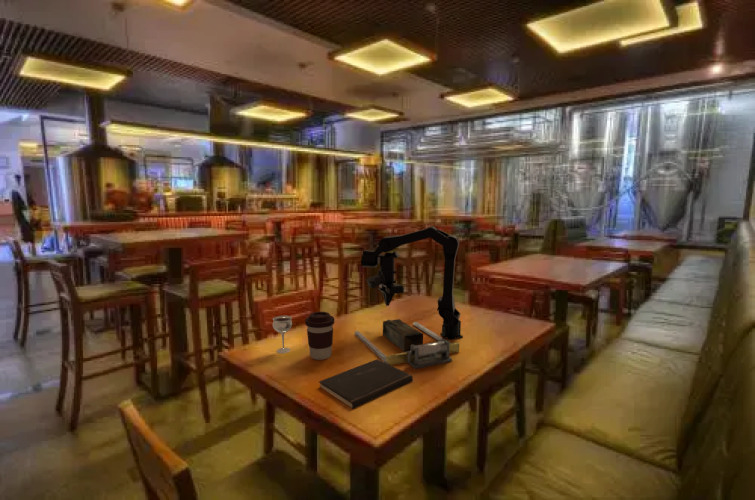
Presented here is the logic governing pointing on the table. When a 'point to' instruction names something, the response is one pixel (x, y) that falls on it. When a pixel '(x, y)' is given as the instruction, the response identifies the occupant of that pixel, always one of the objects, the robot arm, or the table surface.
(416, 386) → the table surface
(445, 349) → the winch
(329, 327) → the coffee cup
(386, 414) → the table surface
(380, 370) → the hardcover book
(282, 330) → the wineglass
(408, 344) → the beverage carton
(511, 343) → the table surface
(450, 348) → the bay
